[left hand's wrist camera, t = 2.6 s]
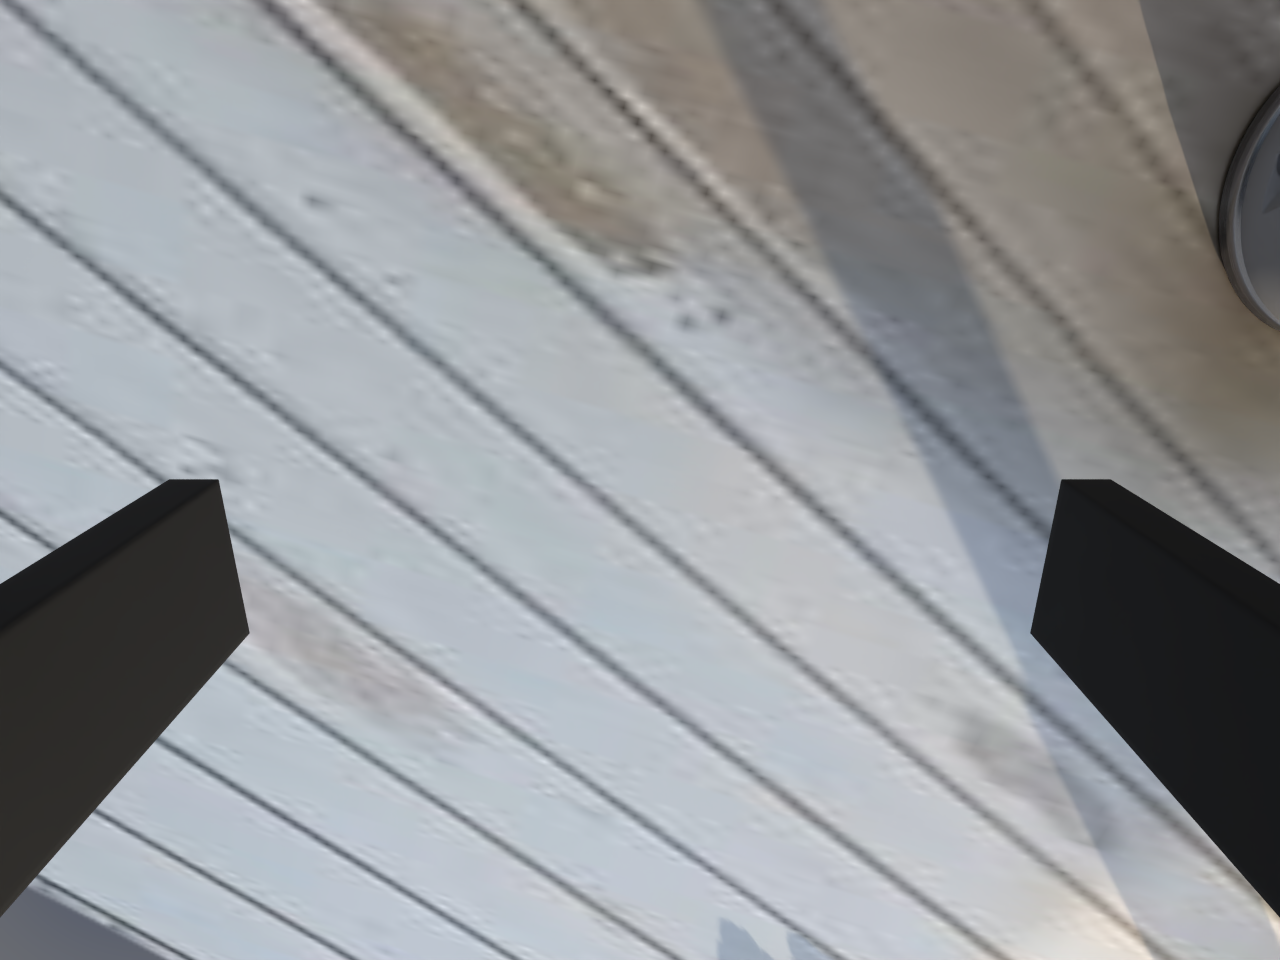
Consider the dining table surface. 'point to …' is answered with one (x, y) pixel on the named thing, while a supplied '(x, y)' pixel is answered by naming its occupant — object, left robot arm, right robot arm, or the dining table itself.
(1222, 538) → the dining table surface
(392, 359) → the dining table surface
